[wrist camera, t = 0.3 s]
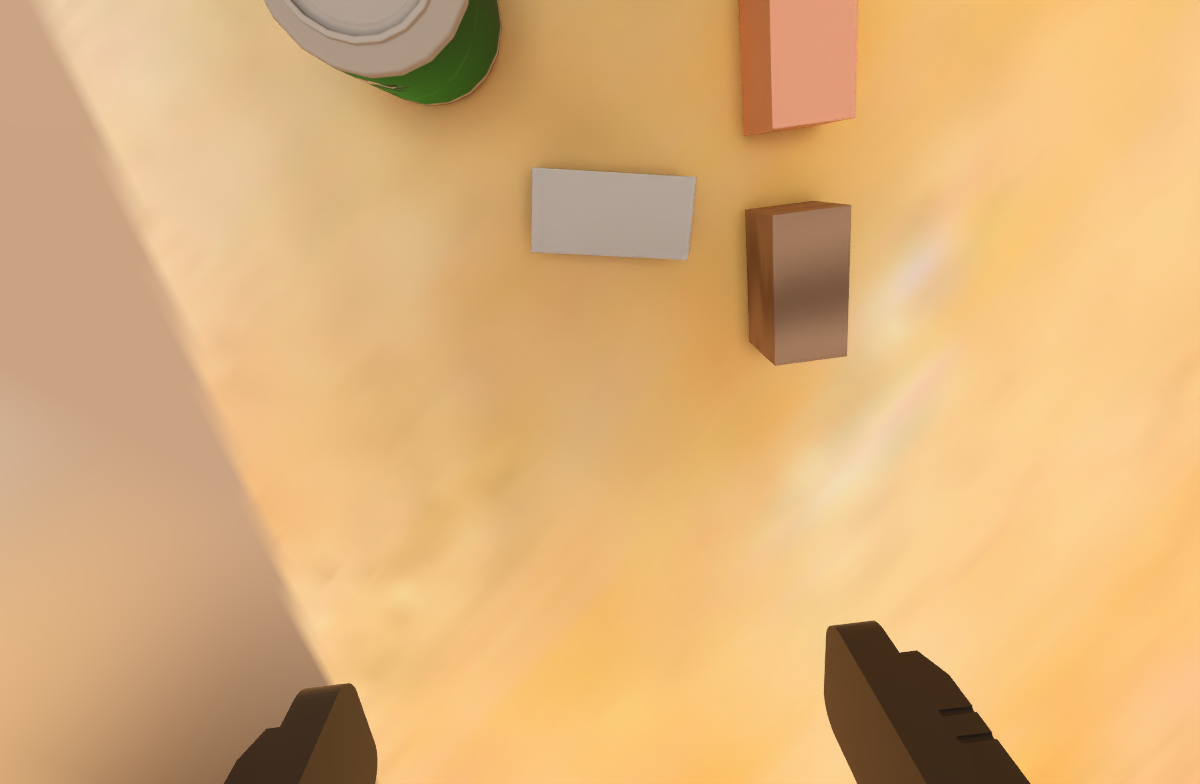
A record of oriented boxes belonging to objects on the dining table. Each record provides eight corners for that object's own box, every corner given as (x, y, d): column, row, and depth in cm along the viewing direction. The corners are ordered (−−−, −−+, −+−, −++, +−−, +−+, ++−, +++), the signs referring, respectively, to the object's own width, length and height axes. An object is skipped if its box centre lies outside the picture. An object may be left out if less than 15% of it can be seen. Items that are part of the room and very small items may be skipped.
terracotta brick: (736, -34, 30) (767, -73, 25) (814, -45, 30) (859, -86, 25) (743, 135, 33) (772, 129, 28) (814, 125, 33) (855, 117, 28)
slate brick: (536, 241, 34) (531, 252, 29) (537, 168, 33) (532, 167, 28) (672, 248, 35) (687, 260, 30) (679, 176, 33) (696, 176, 29)
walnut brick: (744, 209, 34) (772, 215, 29) (812, 200, 34) (851, 205, 29) (749, 341, 37) (775, 365, 32) (811, 332, 37) (846, 356, 32)
